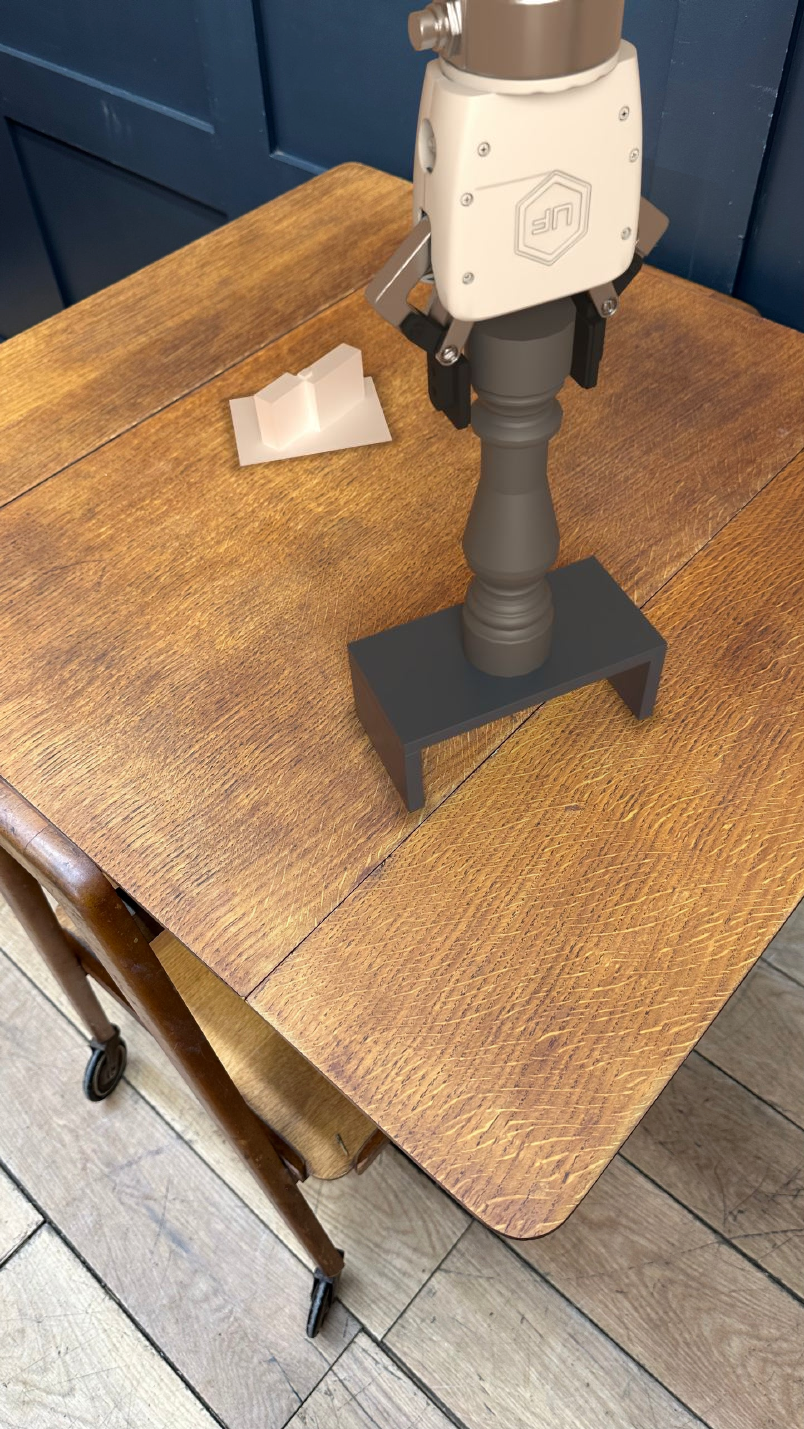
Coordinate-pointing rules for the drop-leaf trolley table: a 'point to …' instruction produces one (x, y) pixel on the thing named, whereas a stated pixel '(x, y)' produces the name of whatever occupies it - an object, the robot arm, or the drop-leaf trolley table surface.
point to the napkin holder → (310, 411)
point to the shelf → (459, 697)
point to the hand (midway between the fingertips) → (515, 393)
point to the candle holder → (514, 485)
